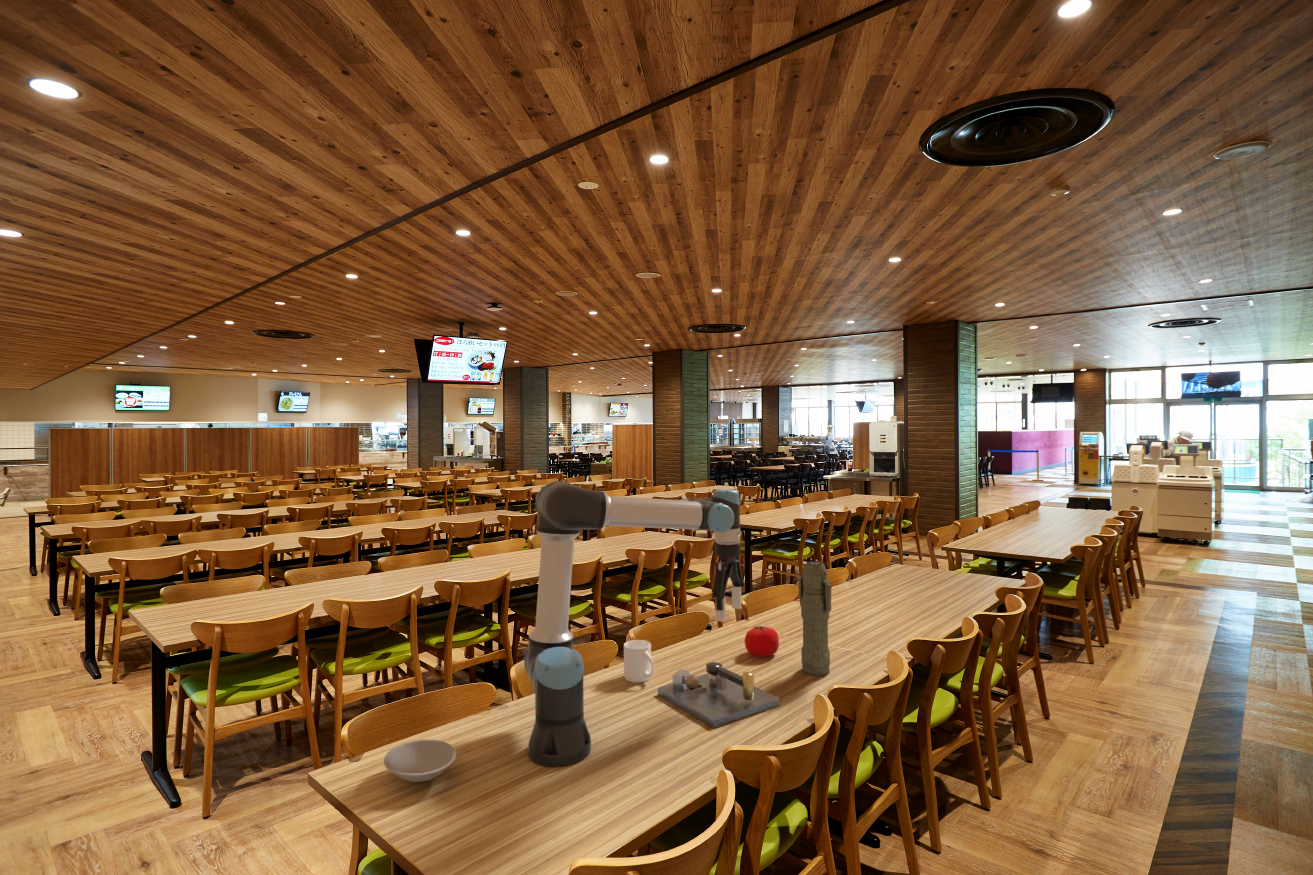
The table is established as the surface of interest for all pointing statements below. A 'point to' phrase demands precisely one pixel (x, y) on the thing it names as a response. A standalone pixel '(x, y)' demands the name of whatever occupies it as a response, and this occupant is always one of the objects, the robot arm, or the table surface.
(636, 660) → the mug
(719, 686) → the lever
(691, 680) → the tan wooden ball
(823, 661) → the thermos
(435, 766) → the dish
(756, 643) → the tomato
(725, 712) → the bench plate
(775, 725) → the table surface
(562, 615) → the robot arm
